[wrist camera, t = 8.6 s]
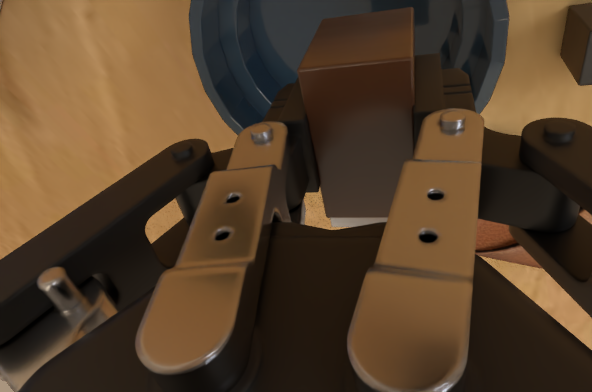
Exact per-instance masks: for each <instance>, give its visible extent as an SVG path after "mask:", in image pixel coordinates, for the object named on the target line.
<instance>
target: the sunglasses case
mask: <svg viewBox="0 0 592 392" xmlns="http://www.w3.org/2000/svg"><path fill="white" fill-rule="evenodd" d="M578 214H579V215H580V216H582V217H583V218H584V219H585V220H587V221H588V222H589V223H590V224H592V215H591V214H590V213H588V212H587V211H586V210H584V209H583V208H582V207H581V206H580V209H579V213H578ZM475 254H476V255H479V256H484V257H489V258H493V259H497V260H502V261H507V262H512V263H517V264H522V265H527V266H532V267H538V268H542V267H541V266H540V265H539V264H538V263H537V262H536V261H535V260H534V259H533V258H532V257H531V255H530V254H529V253H528V252H527V251H526V250H525V249H524V248H523V247H522V246H521V245H520V244H519V243H518V242H517V241H516V240H515V239H514V238H513V237H512V236H511V234H510V232H509V225H505V224H500V223H496V222H491V221H486V220H482V219H478V220H477V234H476V248H475Z"/></svg>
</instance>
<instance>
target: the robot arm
mask: <svg viewBox="0 0 592 392" xmlns="http://www.w3.org/2000/svg"><path fill="white" fill-rule="evenodd" d="M413 118H414V150H415V151H414V155H413V158H412V159H405V161H404V164H403V167H402V171H401V174H400V178H399V181H398V185H397V188H396V191H395V195H394V198H393V202H392V205H391V209H390V212H389V216H388V219H387V222H379V223H373V224H368V225H362V226H356V227H351V228H345V229H339V230H327V229H322V228H317V227H312V226H307V225H305V212H306V208H305V203H304V196H305V193H306V192H318V191H319V187H320V181H319V176H318V171H317V166H316V161H315V156H314V151H313V146H312V140H311V135H310V130H309V125H308V120H307V115H306V113H305V108H304V103H303V98H302V93H301V87H300V82H299V77H298V78H297V80H296V82H295V83H291V84H287V85H286V86H285V87H283V88H282V89H281V90H280V91H278V93H277V95H276V97H275V99H274V102H272V104H271V106H270V108H269V110H268V112H267V114H266V116H265V118H264V120H263V121H262V122H260V123H257V124H254V125H251V126H249V127H247V128H246V129H244V130H243V131H242V132H241V133H240V134H239V135H238V137H237V139H236V142H235V145H234V148H231V149H227V150H223V151H219V152H215V153H211V152H210V149H209V146H208V144H207V142H206V141H204V140H201V139H188V140H184V141H180V142H178V143H175V144H173V145H171V146H169V147H168V148H166V149H165V150H163V151H162V152H160V153H159V154H157V155H156V156H154V157H153V158H151V159H150V160H148V161H147V162H145V163H144V164H142V165H141V166H139V167H138V168H136V169H135V170H133V171H132V172H130V173H129V174H127V175H126V176H124V177H123V178H122V179H120V180H119V181H117V182H116V183H114V184H113V185H111V186H110V187H108V188H107V189H105V190H104V191H102V192H101V193H99V194H98V195H96V196H95V197H93V198H92V199H90V200H89V201H87V202H86V203H84V204H83V205H81V206H80V207H78V208H77V209H75V210H74V211H72V212H71V213H69V214H68V215H66V216H65V217H63V218H62V219H61V220H59V221H58V222H56V223H55V224H53V225H52V226H50V227H49V228H47V229H46V230H44V231H43V232H41V233H40V234H38V235H37V236H35V237H34V238H32V239H31V240H29V241H28V242H26V243H25V244H23V245H22V246H20V247H19V248H17V249H16V250H14V251H13V252H11V253H10V254H8V255H7V256H5V257H4V258H2V259H1V260H0V379H1V380H2V381H6V382H7V384H8V385H9V386H10V387H11V389H12V390H13V391H14V392H592V350H591V349H589V348H588V347H587V346H586V345H585V344H584V343H582V342H581V341H580V340H579V339H578V338H576V337H575V336H574V335H573V334H572V333H570V332H569V331H568V330H567V329H566V328H564V327H563V326H562V325H561V324H560V323H559V322H557V321H556V320H555V319H554V318H553V317H551V316H550V315H549V314H548V313H547V312H545V311H544V310H543V309H542V308H541V307H540V306H538V305H537V304H536V303H535V302H534V301H532V300H531V299H530V298H529V297H528V296H526V295H525V294H524V293H523V292H522V291H521V290H519V289H518V288H517V287H516V286H515V285H513V284H512V283H511V282H510V281H509V280H507V279H506V278H505V277H504V276H503V275H502V274H500V273H499V272H498V271H497V270H496V269H494V268H493V267H492V266H491V265H490V264H488V263H487V262H486V261H485V260H483V259H482V258H481V257H479V256H478V255H476V254H475V248H476V234H477V220H478V219H482V220H486V221H491V222H496V223H500V224H505V225H509V232H510V234H511V236H512V237H513V238H514V239H515V240H516V241H517V242H518V243H519V244H520V245H521V246H522V247H523V248H524V249H525V250H526V251H527V252H528V253H529V254H530V255H531V257H532V258H533V259H534V260H535V261H536V262H537V263H538V264H539V265H540V266H541V267H542V268H543V269H544V270H545V271H546V272H547V273H548V274H549V275H550V276H551V277H552V278H553V279H554V280H555V281H556V282H557V283H558V284H559V285H560V286H561V287H562V288H563V289H564V290H565V291H566V292H567V293H568V294H569V295H570V296H571V297H572V298H573V299H574V300H575V301H576V302H577V303H578V304H579V305H580V306H581V307H582V308H583V309H584V310H585V311H586V312H587V313H588V314H589V315H590V316H591V317H592V224H590V223H589V222H588V221H587V220H585V219H584V218H583V217H582V216H580V215H579V214H578V213H579V209H580V206H581V207H582V208H583V209H584V210H586V211H587V212H588V213H590V214H591V215H592V127H591V126H589V125H587V124H585V123H583V122H580V121H577V120H573V119H567V118H546V119H540V120H536V121H533V122H531V123H529V124H528V125H526V126H525V127H524V129H523V131H522V135H521V136H516V135H508V134H502V133H497V132H494V131H491V130H489V129H487V128H485V127H484V119H483V117H482V116H481V115H479V114H478V113H476V109H475V104H474V99H473V95H472V90H471V85H470V80H469V76H468V74H467V73H465V72H464V71H462V70H461V69H460V68H452V69H441V62H440V53H434V54H424V55H415V105H414V106H413ZM174 198H176V200H177V203H178V205H179V207H180V209H181V211H182V214H183V216H184V218H183V219H182V220H180V221H179V222H178V223H177V224H175V225H174V226H173V227H172V228H171V229H169V230H168V231H167V232H166V233H164V234H163V235H162V236H161V237H159V238H158V239H157V240H156V241H155V242H153V243H152V244H150V242H149V240H148V238H147V236H146V234H145V226H146V223H147V221H148V219H149V218H150V217H151V216H152V215H154V214H155V213H156V212H157V211H159V210H160V209H161V208H163V207H164V206H165V205H167V204H168V203H169V202H171V201H172V200H173V199H174Z"/></svg>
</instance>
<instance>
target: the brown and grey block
mask: <svg viewBox="0 0 592 392" xmlns="http://www.w3.org/2000/svg"><path fill="white" fill-rule="evenodd" d="M297 72H298V77H299V82H300V87H301V93H302V98H303V103H304V108H305V113H306V115H307V120H308V125H309V130H310V135H311V140H312V146H313V151H314V156H315V161H316V166H317V171H318V176H319V181H320V188H321V193H322V198H323V203H324V208H325V213H326V217H327V218H330V220H331V225H332V227H356V226H362V225H368V224H373V223H379V222H387V219H388V216H389V212H390V209H391V205H392V202H393V198H394V195H395V191H396V188H397V185H398V181H399V178H400V174H401V171H402V167H403V164H404V161H405V159H412V158H413V155H414V151H415V150H414V118H413V106H414V105H415V28H414V9H413V8H412V7H408V8H401V9H393V10H386V11H378V12H371V13H364V14H356V15H349V16H341V17H334V18H327V19H323V20H322V21H321V23H320V25H319V27H318V29H317V31H316V33H315V35H314V37H313V39H312V41H311V43H310V45H309V47H308V49H307V51H306V53H305V55H304V57H303V59H302V61H301V63H300V65H299V67H298V70H297Z"/></svg>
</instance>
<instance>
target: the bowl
mask: <svg viewBox="0 0 592 392" xmlns="http://www.w3.org/2000/svg"><path fill="white" fill-rule="evenodd" d="M408 7H412V8H413V9H414V28H415V55H424V54H434V53H440V62H441V69H452V68H460V69H461V70H462V71H464V72H465V73H467V74H468V76H469V80H470V85H471V90H472V95H473V99H474V104H475V109H476V113H478V114H480V113H481V112H482V110H483V109H484V108H485V106H486V105H487V103H488V102H489V101H490V98H491V96H492V93H493V91H494V88H495V86H496V83H497V81H498V78H499V76H500V73H501V71H502V68H503V66H504V61H505V56H506V46H507V36H508V26H509V12H508V6H507V1H506V0H191V5H190V11H189V24H190V34H191V45H192V55H193V58H194V61H195V64H196V67H197V70H198V73H199V76H200V79H201V82H202V85H203V87H204V90H205V92H206V94H207V95H208V97H209V99H210V100H211V102H212V104H213V105H214V107H215V108H216V110H217V112H218V113H219V115H220V116H221V118H222V120H224V122H225V123H226V124H227V125H228V126H229V127H230V128H231V129H232V130H233V131H234V132H235V133H236V134H237V135H239V134H240V133H241V132H242V131H243V130H244V129H246V128H247V127H249V126H251V125H254V124H257V123H260V122H262V121H263V120H264V118H265V116H266V114H267V112H268V110H269V108H270V106H271V104H272V102H274V99H275V97H276V95H277V93H278V91H280V90H281V89H282V88H283V87H285V86H286V85H287V84H291V83H295V82H296V80H297V78H298V72H297V70H298V67H299V65H300V63H301V61H302V59H303V57H304V55H305V53H306V51H307V49H308V47H309V45H310V43H311V41H312V39H313V37H314V35H315V33H316V31H317V29H318V27H319V25H320V23H321V21H322V20H323V19H327V18H334V17H341V16H349V15H356V14H364V13H371V12H378V11H386V10H393V9H401V8H408Z"/></svg>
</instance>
